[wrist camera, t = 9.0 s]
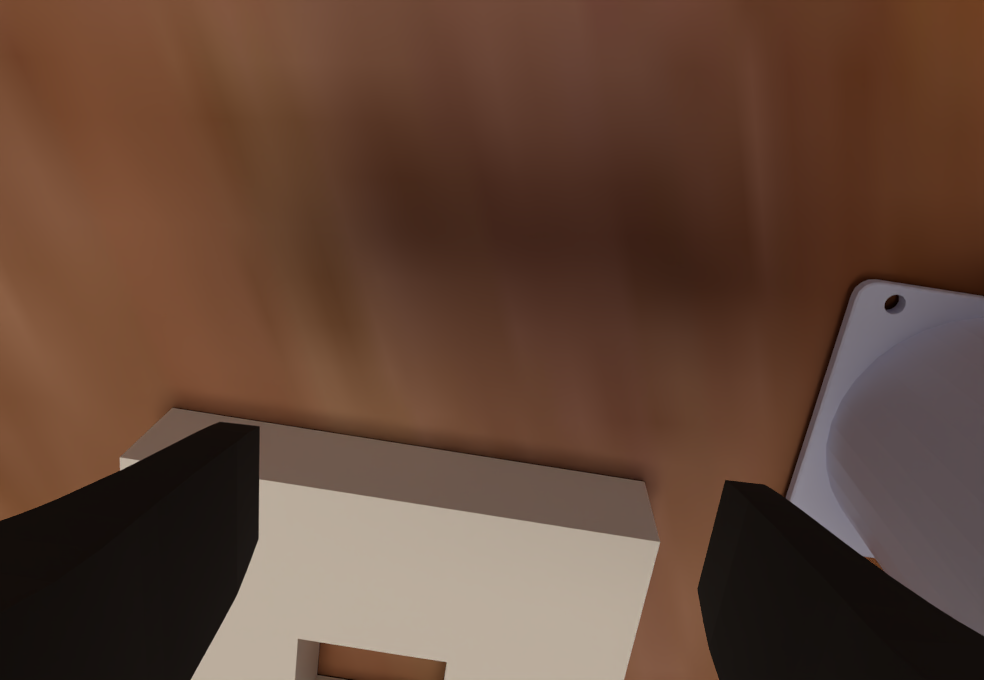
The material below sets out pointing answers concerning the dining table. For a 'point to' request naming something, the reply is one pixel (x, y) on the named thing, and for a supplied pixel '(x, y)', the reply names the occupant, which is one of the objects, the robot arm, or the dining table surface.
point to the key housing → (428, 560)
